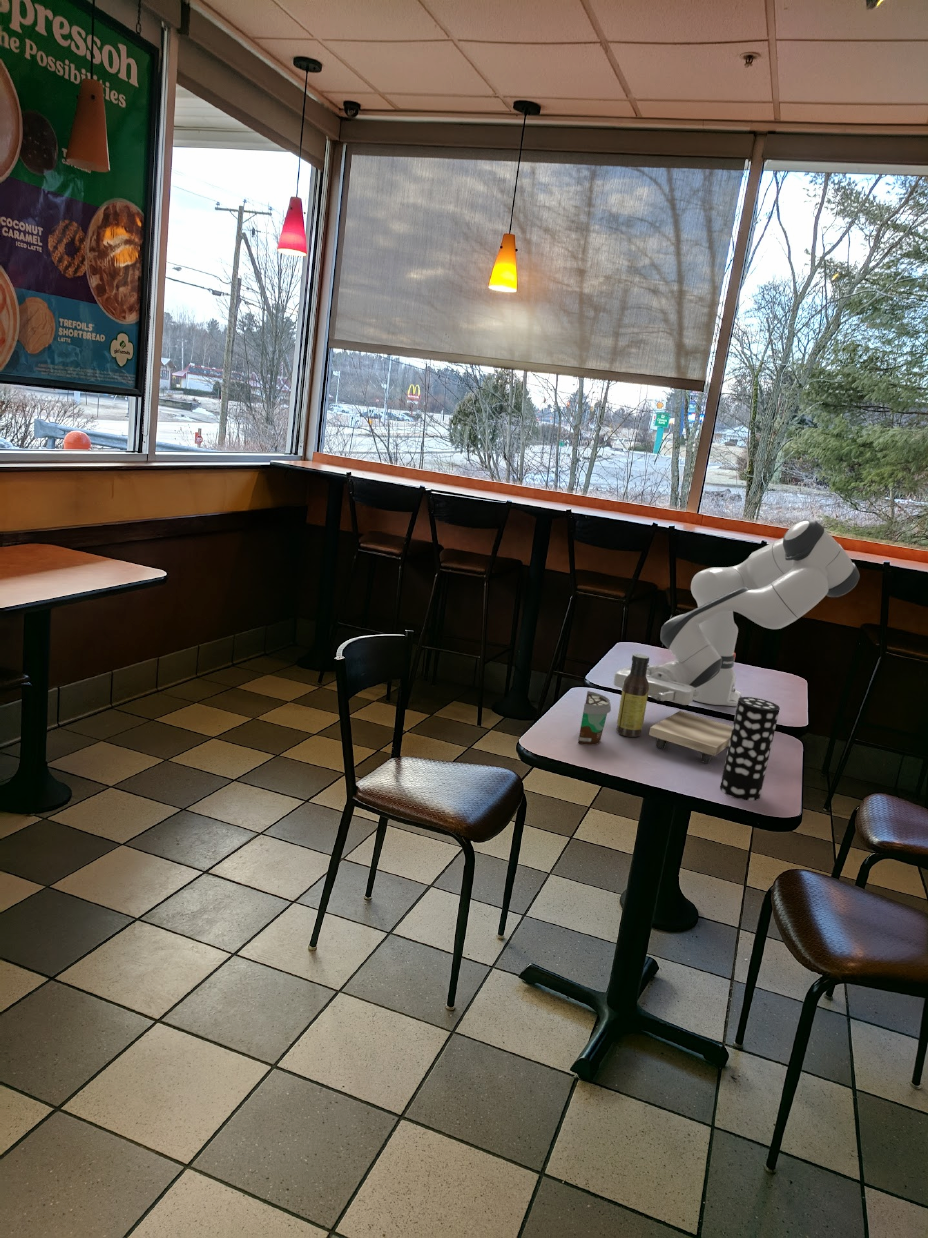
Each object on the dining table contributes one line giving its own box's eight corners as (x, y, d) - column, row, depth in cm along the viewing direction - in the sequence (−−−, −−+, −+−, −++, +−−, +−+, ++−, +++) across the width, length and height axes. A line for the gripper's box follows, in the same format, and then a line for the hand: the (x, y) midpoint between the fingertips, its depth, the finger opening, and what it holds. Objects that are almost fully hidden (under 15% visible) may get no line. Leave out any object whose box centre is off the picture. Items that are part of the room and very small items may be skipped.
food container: (604, 750, 199) (611, 709, 196) (577, 745, 200) (584, 704, 197) (606, 734, 210) (613, 695, 208) (581, 729, 211) (587, 690, 209)
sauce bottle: (645, 738, 211) (660, 659, 207) (625, 739, 209) (640, 660, 204) (630, 728, 217) (644, 652, 213) (609, 729, 214) (623, 652, 210)
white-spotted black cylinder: (768, 800, 182) (788, 710, 178) (734, 800, 179) (754, 709, 175) (744, 784, 190) (763, 697, 185) (712, 784, 187) (730, 696, 183)
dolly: (676, 729, 222) (679, 710, 220) (737, 748, 213) (742, 729, 212) (646, 746, 205) (650, 727, 204) (712, 768, 197) (716, 747, 196)
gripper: (699, 705, 219) (680, 715, 208) (625, 684, 230) (603, 694, 218) (703, 681, 218) (685, 690, 206) (628, 661, 228) (607, 670, 217)
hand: (642, 692), depth 212 cm, fingers open, 8 cm apart
